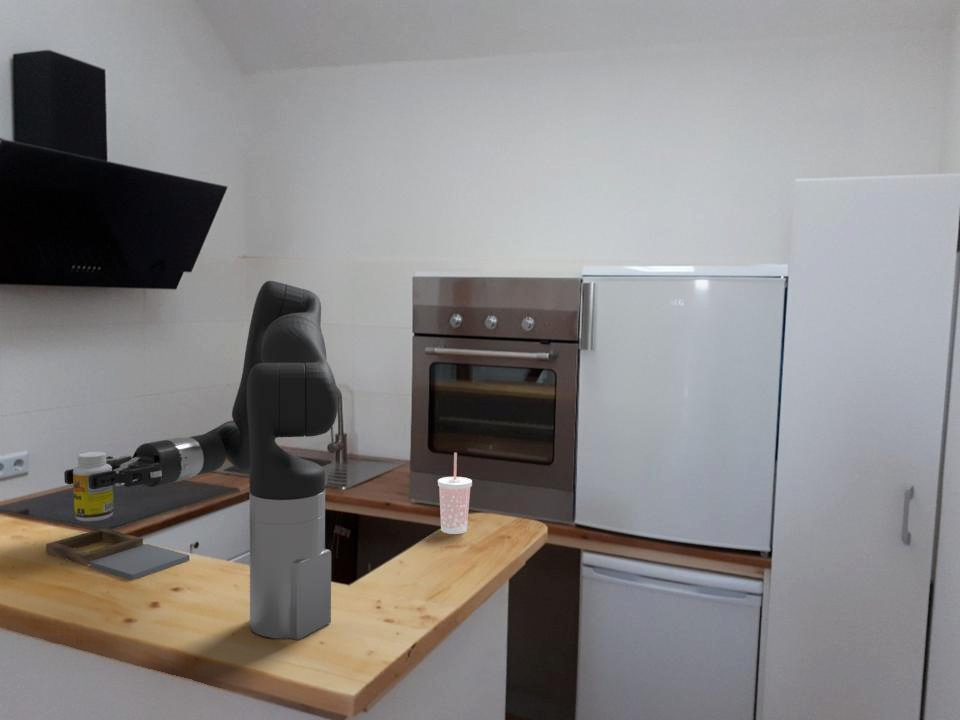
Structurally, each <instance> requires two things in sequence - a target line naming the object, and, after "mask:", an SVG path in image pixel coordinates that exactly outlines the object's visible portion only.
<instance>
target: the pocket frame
mask: <svg viewBox="0 0 960 720" xmlns="http://www.w3.org/2000/svg"><path fill="white" fill-rule="evenodd" d="M99 541H105V542H107V543H108V542H109V543H111V545H108V546H104V547H100V548H97V549H94V550H90V551H85V550H81V549H79V547H82V546H85V545H89V544H93V543H96V542H99ZM141 545H144V538H143V537H138V536H136V535H131V534H127V533H123V532H120V531H116V530H113V529H112V530H111V529H109V528H105V527H103V528H99V529H96V530H93V531H87V532H84V533H81V534H77V535H74V536H70V537H66V538H62V539H59V540H56V541H51V542H48V543H45V553H46V554H47V553H48V555H50V554H52V555H51V556H53V555H55V556H54V557H57V556H58V558H60V557H61V558H60V559H63V558H64V559H63V560H66V559H67V561H69V560H70V562H72V563H76V562H77V563H76V564H79V563H80V564H79V565H82V564H83V566H88V565H89V566H90V561H93V560H96V559H100V558H103V557H106V556H109V555H112V554H116V553H119V552H122V551H125V550H129V549H132V548H135V547H138V546H141ZM75 547H76V548H75Z"/></svg>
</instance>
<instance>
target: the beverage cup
mask: <svg viewBox="0 0 960 720" xmlns="http://www.w3.org/2000/svg"><path fill="white" fill-rule="evenodd" d="M457 458H458V452H454V453H453V476H444V477H441V478H439V479H437V486H438V487H439V488H438V489H439V510H440V531H441V532H442V533H445V534H449V535H459V534H464V533H467V530H468V520H469V508H470V495H471V487H473V486H472V485H473V480H472V479H471V478H468V477H463V476H457V467H458V465H457V461H458V459H457Z"/></svg>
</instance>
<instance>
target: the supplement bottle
mask: <svg viewBox="0 0 960 720" xmlns="http://www.w3.org/2000/svg"><path fill="white" fill-rule="evenodd" d="M106 457H107V453H106V452H103V451H89V452H88V451H87V452H83V453H80V454H78V456H77V466H75V467H74V468H73V469H74V470H73V484H72V485H73V505H74V507H73V508H74V518H75V519H76V520H78V521H81V522H97V521H103V520H106V519H108V518H110V517H112V516H113V514H114V484H113V485H112V486H107V487H103V488H98V489H90V488H89V476H90V475H92V474H97V473H102V472H107V471H112V467H111V465H109V464H105V463H106Z"/></svg>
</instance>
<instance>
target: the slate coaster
mask: <svg viewBox="0 0 960 720" xmlns="http://www.w3.org/2000/svg"><path fill="white" fill-rule="evenodd" d="M189 561H190V555H189V554H186V553H183V552H178V551H175V550H172V549H167V548H164V547H160V546H157V545H153V544H149V543H146V544H143V545H141V546H138V547H135V548H132V549H129V550H125V551H122V552H119V553H116V554H112V555H109V556H106V557H103V558H100V559H96V560H93V561H90V564H89V567H90V568H92V569H96V570H99V571H102V572H104V573H109V574H112V575H115V576H117V577H118V576H119V577H122V578H125V579H128V580H132V581H134V580H137V579H140V578H142V577H146V576H148V575H151V574H154V573H157V572H160V571H162V570H166V569H169V568H172V567H174V566H177V565H180V564H182V563H185V562H189Z"/></svg>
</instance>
